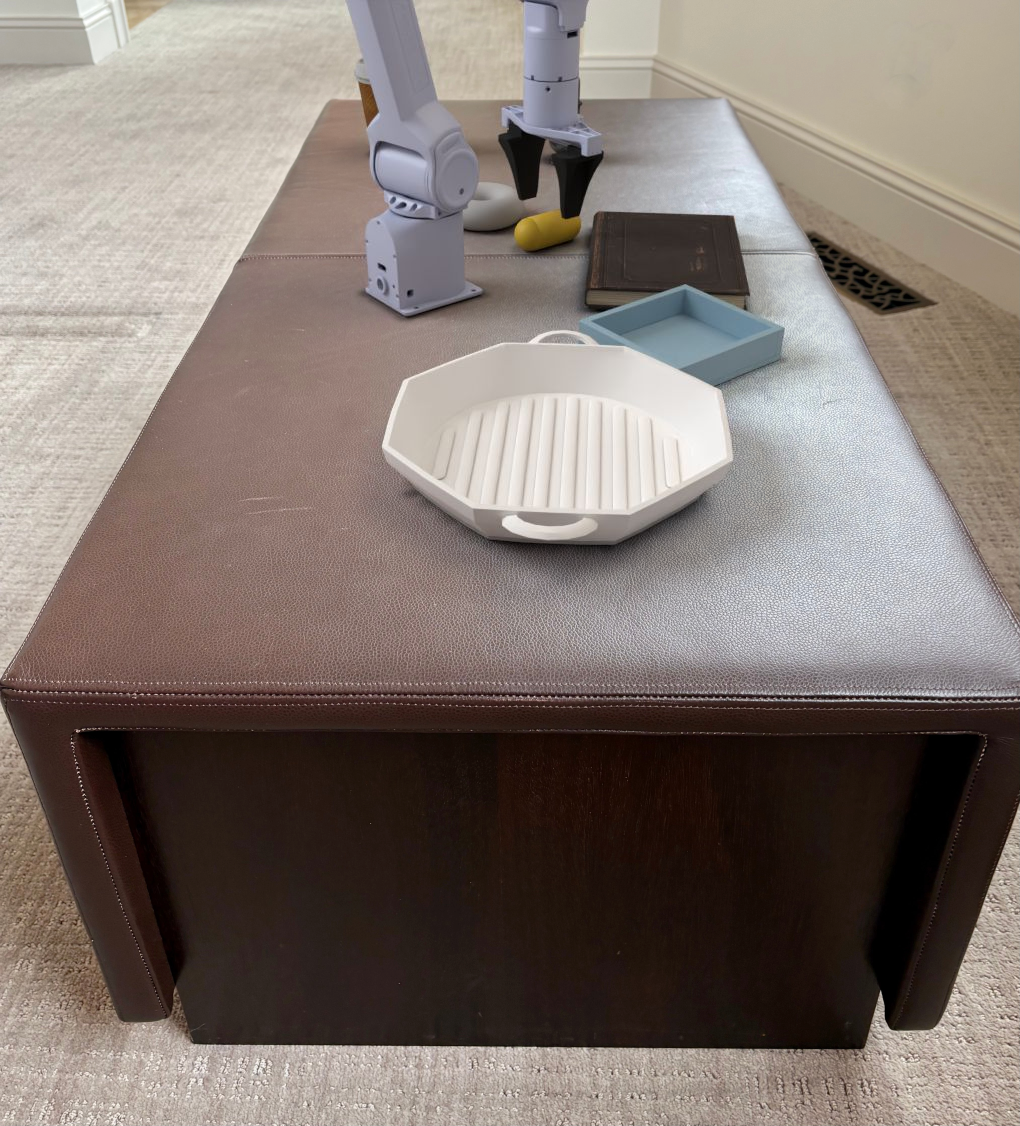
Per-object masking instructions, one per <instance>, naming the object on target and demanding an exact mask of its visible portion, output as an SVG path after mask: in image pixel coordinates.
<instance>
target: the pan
mask: <svg viewBox="0 0 1020 1126" xmlns="http://www.w3.org/2000/svg"><path fill="white" fill-rule="evenodd" d="M553 338H571V339H575V340H577V341H578V340H580V341H583V342H584V343H585V344H578V343H557V342H553V343H551V342H545V341H548V340H551V339H553ZM724 400H725V399H724V397H723V392H722V390H721V389H719V388H717V387H715V386H711V385H709V384H707V383H705V382H703V381H701V380H699V379H697V378H695V377H693V376H691V375H689V374H686V373H684V372H682V371H680V370H678V369H676V368H673V367H671V366H669V365H667V364H665V363H663V362H661V361H658V360H656V359H654V358H652V357H650V356H647V355H645V354H643V353H640V352H638V351H636V350H634V349H631V348H629V347H627V346H611V345H599V344H598V343H597V342H596V341H595V340H593V339H592V338H591V337H590V336H588V335H585V334H582V333H580V332H579V331H574V330H567V329H561V330H560V329H559V330H550V331H546V332H543V333H539V334H538V335H536V336H535V337H534V338H532V339H531V340H530V341H528V342H501V343H498V344H494V345H492V346H489V347H486V348H483V349H480V350H477V351H475V352H471V353H469V354H467V355H464V356H461V357H458V358H456V359H453V360H450V361H447V362H445V363H443V364H440V365H438V366H435V367H433V368H430V369H427V370H425V371H422V372H420V373H418V374H415V375H413V376H410V377H408V378H405V379H403V380H402V383H401V386H400V388H399V391H398V393H397V396H396V398H395V400H394V403H393V406H392V409H391V411H390V414H389V418H388V422H387V424H386V428H385V433H384V437H383V440H382V444H381V449H382V453H383V456H384V458H385V461H386V463H387V464H388V465H389V466H391V467H392V468H393V469H394V470H395V471H396V472H398V473H399V474H400V475H401V476H402V477H403V478H405V479H406V480H407V481H408V482H409V483H411V484H412V488H413V489H414V490H416V491H417V492H418V493H419V494H421V495H422V496H423V497H424V498H426V499H427V500H428V501H429V502H430V503H432V504H433V505H435V506H436V507H437V508H439V509H440V510H442V511H443V512H444V513H445V514H447V515H448V516H450V517H452V518H453V519H455V520H456V521H457V522H458V523H460V524H462V525H464V526H465V527H467V528H468V529H470V530H472V531H474V532H475V533H477V534H478V535H480V536H482V537H484V538H485V539H487V540H492V541H493V540H494V541H505V542H516V543H533V544H534V543H535V544H554V545H595V546H596V545H604V546H605V545H607V546H608V545H610V546H612V545H613V546H615V545H617V544H619V543H622V542H623V541H625V540H628V539H630V538H631V537H634V536H636V535H638V534H640V533H642V532H644V531H646V530H648V529H649V528H651V527H653V526H655V525H657V524H658V523H660V522H662V521H664V520H666V519H668V518H670V517H672V516H673V515H675V514H677V513H679V512H680V511H682V510H684V509H685V508H687V507H689V506H690V505H691V504H693V503H694V502H696V501H697V500H699V499H700V497H701V495H703V494H704V493H705V492H706V491H708V490H709V489H711V488H712V487H713V486H715V485H716V484H717V483H718V482H720V481H721V480H722V479H724V478H725V477H727V476H728V475H729V472H730V469H731V467H732V465H733V463H734V452H733V443H732V437H731V431H730V427H729V420H728V415H727V408H726V403H725V401H724Z"/></svg>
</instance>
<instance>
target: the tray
mask: <svg viewBox="0 0 1020 1126" xmlns="http://www.w3.org/2000/svg"><path fill="white" fill-rule="evenodd" d="M785 330H786V328H785V327H784V326H782V325H780V324H777V323H775V322H773V321H771V320H768V319H766V318H764V317H762V316H758V315H756V314H754V313H752V312H750V311H748V310H747V311H745V310H743V309H741V308H738V307H736V306H734V305H732V304H729V303H727V302H725V301H722V300H720V299H718V298H716V297H713V296H711V295H709V294H707V293H704V292H702V291H700V290H697V289H695V288H693V287H691V286H688V285H686V284H685V285H682V286H679V287H676V288H673V289H670V290H667V291H664V292H661V293H658V294H655V295H652V296H649V297H646V298H644V299H641V300H638V301H635V302H632V303H629V304H626V305H623V306H620V307H617V308H614V309H611V310H605V311H602V312H599V313H596V314H593V315H591V316H588V317H587V316H586V317H584V318H582V319H579V320H578V332H580V333H582V334H585V335H588V336H590V337H591V338H592V339H593V340H595V341H596V342H597V343H598V344H599V345H611V346H627V347H629V348H631V349H634V350H636V351H638V352H640V353H643V354H645V355H647V356H650V357H652V358H654V359H656V360H658V361H661V362H663V363H665V364H667V365H669V366H671V367H673V368H676V369H678V370H680V371H682V372H684V373H686V374H689V375H691V376H693V377H695V378H697V379H699V380H701V381H703V382H705V383H707V384H709V385H711V386H713V387H715V386H718V385H720V384H723V383H725V382H727V381H730V380H733V379H734V378H735V379H736V378H737V377H739V376H742V375H745V374H747V373H750V372H752V371H755V370H756V369H759V368H761V367H764V366H766V365H769V364H771V363H774V362H777V361H779V360H780V359H781V353H782V350H783V349H782V348H783V343H784V336H785ZM577 344H585V343H584V342H583V341H580V340H578V339H577Z"/></svg>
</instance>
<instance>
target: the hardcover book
mask: <svg viewBox="0 0 1020 1126" xmlns="http://www.w3.org/2000/svg"><path fill="white" fill-rule="evenodd" d="M587 263H588V264H587V271H586V281H585V289H584V297H583V299H584V304H585V307H587V308H588V309H590V310H605V311H608V310H611V309H614V308H617V307H620V306H623V305H626V304H629V303H632V302H635V301H638V300H641V299H644V298H646V297H649V296H652V295H655V294H658V293H661V292H664V291H667V290H670V289H673V288H676V287H679V286H682V285H685V284H686V285H688V286H691V287H693V288H695V289H697V290H700V291H702V292H704V293H707V294H709V295H711V296H713V297H716V298H718V299H720V300H722V301H725V302H727V303H729V304H732V305H734V306H736V307H738V308H741V309H743V310H745V311H747V312H748V308H747V304H746V297H751V291H750V287H749V282H748V277H747V272H746V268H745V263H744V257H743V254H742V248H741V244H740V238H739V234H738V229H737V225H736V219H735V215H733V214H731V215H730V214H701V213H700V214H699V213H672V212H638V211H637V212H635V211H610V210H609V211H605V210H599V211H597V212H596V213H594V215H593V219H592V226H591V236H590V244H589V254H588V262H587Z"/></svg>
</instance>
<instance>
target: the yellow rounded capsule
mask: <svg viewBox="0 0 1020 1126" xmlns="http://www.w3.org/2000/svg"><path fill="white" fill-rule="evenodd" d="M516 224H517V225H516V226H515V228H514V232H513V233H514V234H513V235H514V236H513V237H514V240H515V243H516V244H517V246H518V247H519V248H520V249H522V250H523V251H526V252H534V251H539V250H541V249H545V248H548V247H552V246H555V245H558V244H562V243H566V242H569V241H571V240H574V239H575V238H576V237H578V235H579V234H580V231H581V230H582V229H581V228H582V220H581V217H580V216H577V217H574V218H570V219H563V218H562V216H561V211H560V208H558V209H554V210H550V211H546V212H543V213H539V214H535V215H532V216H528V217H524V218H523V219H520V220H519V221H518V222H517V223H516Z"/></svg>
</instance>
